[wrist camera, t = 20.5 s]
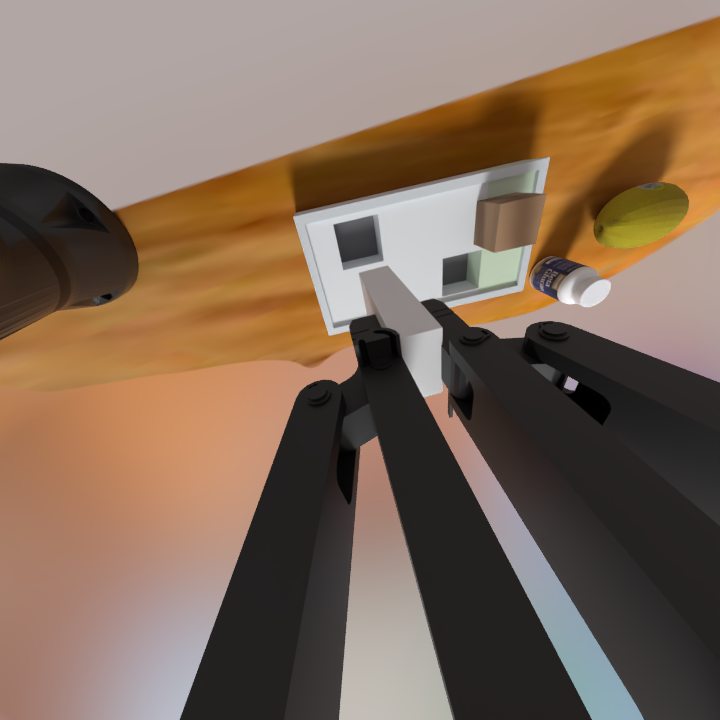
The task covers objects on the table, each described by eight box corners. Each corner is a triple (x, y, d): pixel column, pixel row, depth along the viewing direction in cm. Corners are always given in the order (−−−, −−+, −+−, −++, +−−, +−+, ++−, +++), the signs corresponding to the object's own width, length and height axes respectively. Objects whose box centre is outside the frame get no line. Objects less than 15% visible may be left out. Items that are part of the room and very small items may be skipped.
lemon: (657, 180, 36) (731, 179, 30) (626, 239, 41) (684, 250, 34) (587, 184, 35) (648, 185, 29) (564, 244, 40) (611, 257, 33)
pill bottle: (529, 261, 41) (580, 281, 33) (563, 250, 40) (622, 267, 33) (526, 292, 44) (572, 317, 36) (557, 282, 44) (610, 305, 36)
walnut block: (473, 244, 34) (494, 252, 30) (476, 201, 31) (500, 204, 27) (509, 236, 34) (535, 243, 30) (516, 192, 31) (546, 193, 27)
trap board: (328, 321, 42) (329, 335, 38) (296, 212, 33) (293, 216, 29) (504, 280, 42) (523, 290, 38) (523, 159, 33) (550, 157, 29)
